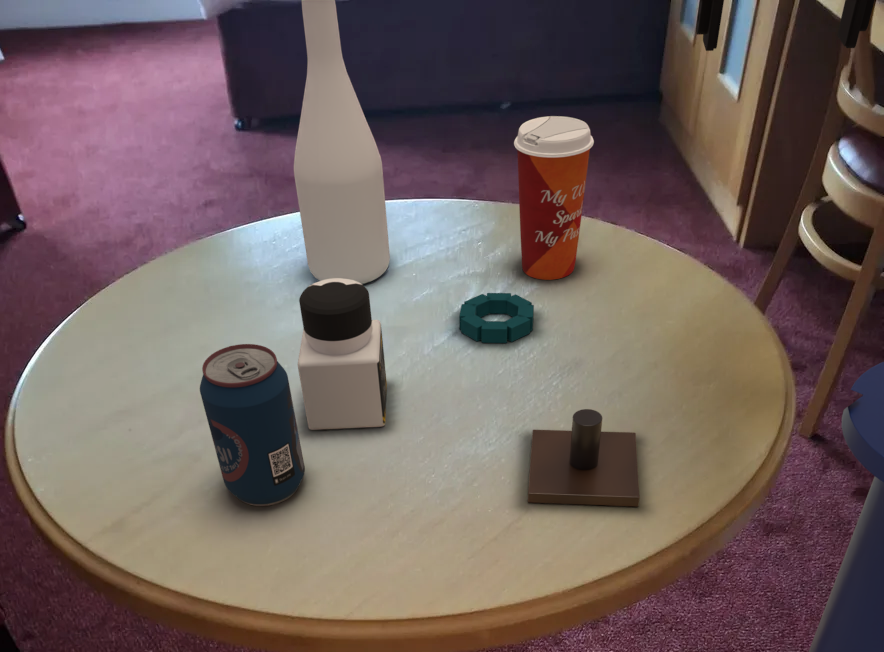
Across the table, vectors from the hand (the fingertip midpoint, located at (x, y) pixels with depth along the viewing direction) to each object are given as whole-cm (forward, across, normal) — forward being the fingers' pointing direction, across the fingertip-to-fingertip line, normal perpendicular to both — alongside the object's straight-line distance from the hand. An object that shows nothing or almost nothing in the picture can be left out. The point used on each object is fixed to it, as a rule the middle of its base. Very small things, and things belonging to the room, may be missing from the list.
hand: (776, 44), depth 66 cm
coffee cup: (+28, +16, -23) cm, 40 cm away
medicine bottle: (+28, +34, +6) cm, 45 cm away
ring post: (+28, +12, +14) cm, 34 cm away
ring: (+28, +21, -10) cm, 36 cm away
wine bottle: (+28, +39, -22) cm, 53 cm away
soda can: (+28, +39, +18) cm, 52 cm away
